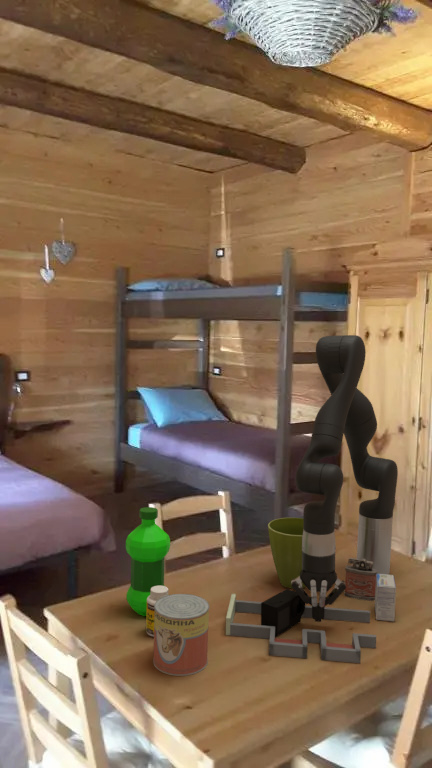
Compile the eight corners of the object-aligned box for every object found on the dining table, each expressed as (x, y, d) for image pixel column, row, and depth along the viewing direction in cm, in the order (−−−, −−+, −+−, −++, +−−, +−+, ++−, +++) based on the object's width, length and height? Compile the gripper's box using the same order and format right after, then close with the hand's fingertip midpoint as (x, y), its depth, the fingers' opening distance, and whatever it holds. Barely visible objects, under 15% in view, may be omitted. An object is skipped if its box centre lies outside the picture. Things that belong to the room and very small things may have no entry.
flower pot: (293, 600, 165) (296, 539, 164) (254, 581, 177) (256, 523, 175) (333, 586, 175) (336, 528, 173) (293, 568, 186) (295, 514, 184)
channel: (231, 609, 159) (231, 593, 159) (369, 620, 155) (370, 604, 155) (221, 650, 139) (222, 632, 139) (379, 665, 136) (380, 646, 135)
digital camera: (280, 639, 145) (280, 609, 144) (260, 631, 148) (261, 602, 148) (305, 623, 153) (306, 594, 152) (286, 616, 156) (286, 588, 156)
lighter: (376, 596, 169) (378, 559, 168) (375, 601, 166) (377, 564, 165) (344, 591, 172) (346, 554, 171) (343, 596, 168) (344, 559, 167)
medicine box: (394, 622, 155) (396, 587, 154) (375, 620, 156) (377, 585, 155) (392, 608, 163) (394, 574, 162) (374, 606, 164) (375, 572, 163)
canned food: (143, 667, 132) (143, 610, 131) (169, 642, 142) (170, 589, 141) (193, 681, 128) (194, 622, 126) (216, 654, 138) (218, 600, 137)
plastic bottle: (140, 598, 164) (142, 501, 161) (176, 608, 159) (178, 508, 156) (116, 613, 155) (117, 511, 153) (153, 624, 150) (155, 519, 148)
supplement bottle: (142, 636, 145) (142, 591, 144) (151, 624, 150) (152, 582, 149) (165, 640, 143) (166, 595, 142) (174, 629, 149) (175, 585, 147)
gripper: (346, 543, 152) (345, 613, 154) (289, 541, 153) (289, 611, 156) (349, 556, 144) (348, 629, 147) (289, 554, 146) (289, 627, 148)
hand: (317, 620), depth 151 cm, fingers closed
